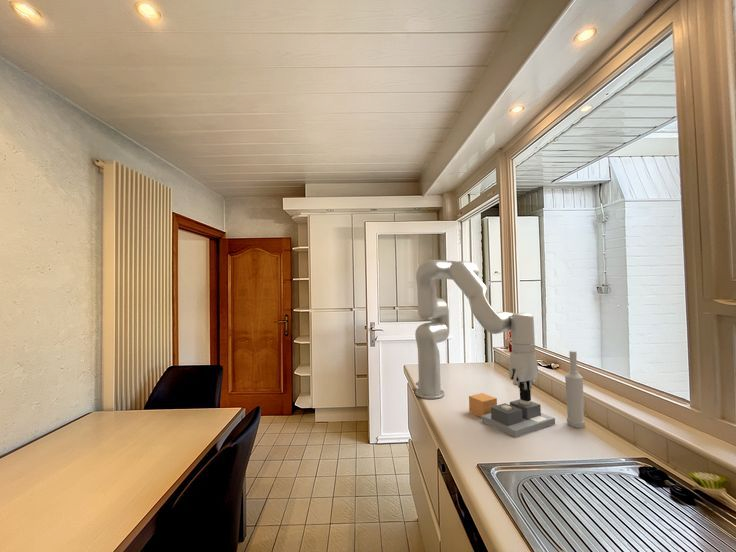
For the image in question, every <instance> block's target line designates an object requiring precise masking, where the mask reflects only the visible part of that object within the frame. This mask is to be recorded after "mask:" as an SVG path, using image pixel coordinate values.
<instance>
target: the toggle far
mask: <svg viewBox="0 0 736 552" xmlns="http://www.w3.org/2000/svg"><path fill="white" fill-rule="evenodd" d="M519 399H520V398H519ZM520 404H523V405H529V404H530V401H524V400H521V399H520Z"/></svg>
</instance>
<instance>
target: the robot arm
mask: <svg viewBox="0 0 736 552" xmlns="http://www.w3.org/2000/svg"><path fill="white" fill-rule="evenodd" d="M479 273H480V270H479V267H478V266H477V265H476V264H475V263H474V262H471V261H466V260H465V261H462V260H461V261H460V260H459V261H456V260H444V259H427V260H425V261H424V262H422V263H421V264H420V265H419V266H418V267H417V269H416V274H415V275H416V276H415V279H416V287H417V288H416V289H417V314H418V317H419V318H420V319H421V320H424V321H429V320H430V322H425V323H421V324H419V325H418V326H417V328H416V330H415V334H414V335H415V341H416V342H415V343H416V347H417V348H416V349H417V363H418V364H417V365H418V366H417V367H418V368H417V369H418V381H416V382H415V385H416V386H417V389H415V395H416V396H417V397H418V398H421V399H427V400H431V399H432V400H434V399H435V400H436V399H440V398H443V397H444V396H445V391H444V390H443V389H441V360H440V357H441V355H440V350H439V348H438V347H439V346H438V345H437V344H438V343H441V342H444V341H446V340H447V339H448V337H449V334H450V309H449V306H448V304H447V302H446V300H444V299H442V298H440V297H438V296H437V287H436V283H435V280H452V281H453V282H454V283H455V284H456V285H457V287H458V288H459V289H460V290H461V292H462V293H463V294H464V296H465V297H466V298H467V300H468V303H469V308H470V310H471V313H472V314H473V317H474V318H475V319H476V321H477V322H478V323H479V324H480V325H481V327H482V328H483V329H484V330H485V331H487V332H488V333H490V334H493V335H498V334H501V333H506V332H510V334H511V335H510V338H511V339H510V340H511V352H510V355H509V362H508V363H509V364H508V365H509V367H508V376H509V380H512V384H513V385H514V386H517V387H518V389H519V399H521V400H524V401H532V395H531V394H532V393H531V391H532V387H533V384H534V383H535V382H536V381H537V378H538V377H539V368H538V367H539V365H538V359H537V354H536V344H535V341H536V339H535V320H534V315H533V314H532V313H526V312H525V313H524V312H516V313H515V312H508V311H499V312H498V311H497V312H496V311H495V310H494V309H493V308H492V306H491V305H490V303H489V301H488V299H487V297H486V292H487V290H488V288H487V285H485V283H484V282H483V281H482V280H481V279H480V277H479V275H480V274H479Z"/></svg>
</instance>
